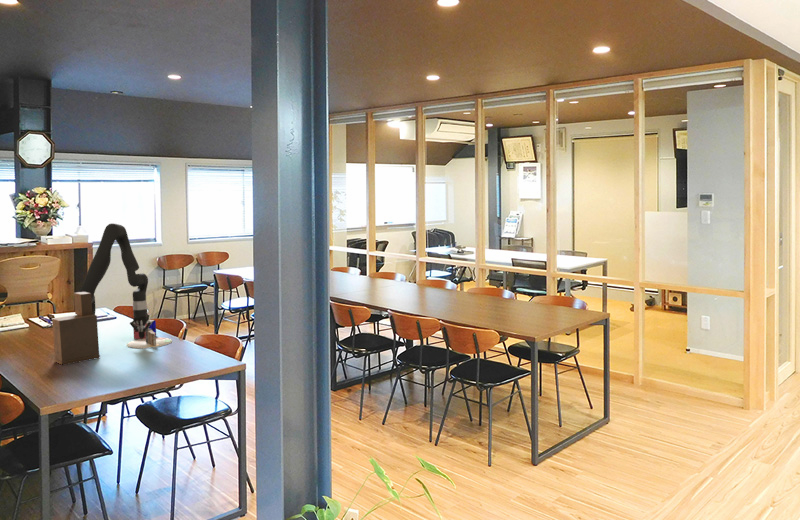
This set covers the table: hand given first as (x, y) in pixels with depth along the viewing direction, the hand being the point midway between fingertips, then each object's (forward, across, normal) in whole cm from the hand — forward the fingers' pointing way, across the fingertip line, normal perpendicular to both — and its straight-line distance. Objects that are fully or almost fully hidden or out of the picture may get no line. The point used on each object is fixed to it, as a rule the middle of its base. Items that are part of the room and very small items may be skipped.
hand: (142, 337), depth 361 cm
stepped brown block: (+5, -21, -28) cm, 36 cm away
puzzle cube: (+6, -11, +25) cm, 27 cm away
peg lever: (+4, +3, +4) cm, 7 cm away
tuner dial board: (+5, 0, +9) cm, 10 cm away
